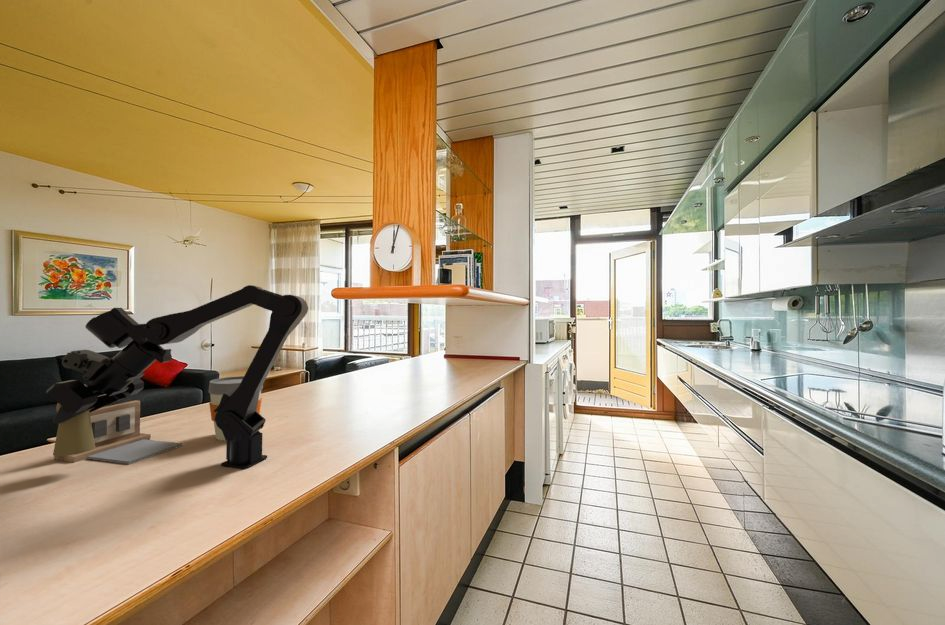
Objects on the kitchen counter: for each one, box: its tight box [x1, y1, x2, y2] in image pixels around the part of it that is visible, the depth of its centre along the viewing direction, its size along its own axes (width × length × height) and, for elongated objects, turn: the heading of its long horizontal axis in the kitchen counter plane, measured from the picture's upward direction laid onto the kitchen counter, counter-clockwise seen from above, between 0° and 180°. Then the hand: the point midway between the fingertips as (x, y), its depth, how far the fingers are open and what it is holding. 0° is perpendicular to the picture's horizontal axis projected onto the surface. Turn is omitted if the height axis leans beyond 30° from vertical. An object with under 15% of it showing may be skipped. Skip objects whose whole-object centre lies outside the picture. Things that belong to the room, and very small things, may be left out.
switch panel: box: [53, 399, 152, 463], centre depth 91 cm, size 6×16×10 cm, turn 168°
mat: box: [87, 439, 183, 465], centre depth 89 cm, size 12×12×1 cm
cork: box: [52, 402, 95, 457], centre depth 78 cm, size 6×6×11 cm
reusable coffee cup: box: [207, 375, 264, 442], centre depth 102 cm, size 13×12×15 cm
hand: (67, 418), depth 77 cm, fingers closed on cork, 5 cm apart
